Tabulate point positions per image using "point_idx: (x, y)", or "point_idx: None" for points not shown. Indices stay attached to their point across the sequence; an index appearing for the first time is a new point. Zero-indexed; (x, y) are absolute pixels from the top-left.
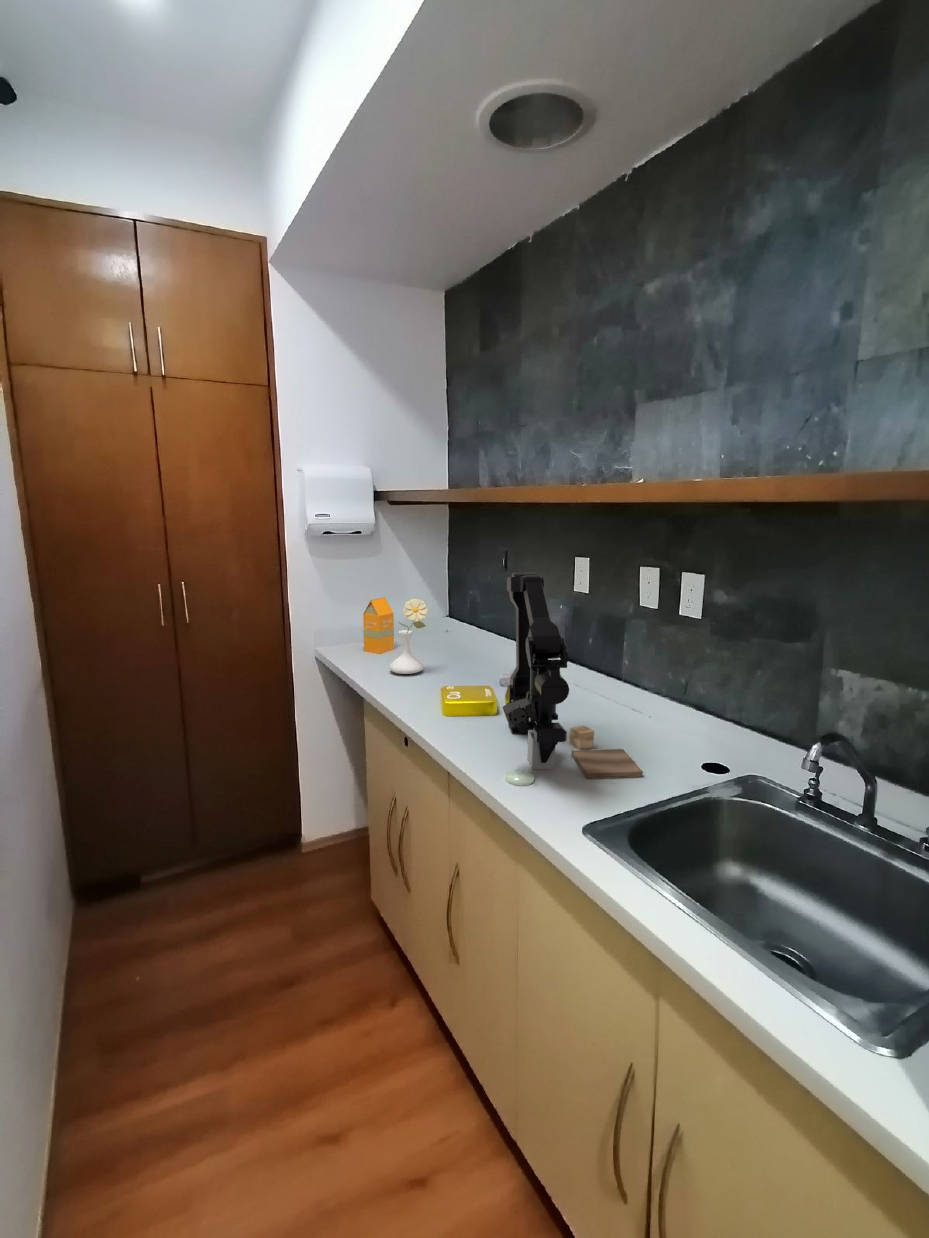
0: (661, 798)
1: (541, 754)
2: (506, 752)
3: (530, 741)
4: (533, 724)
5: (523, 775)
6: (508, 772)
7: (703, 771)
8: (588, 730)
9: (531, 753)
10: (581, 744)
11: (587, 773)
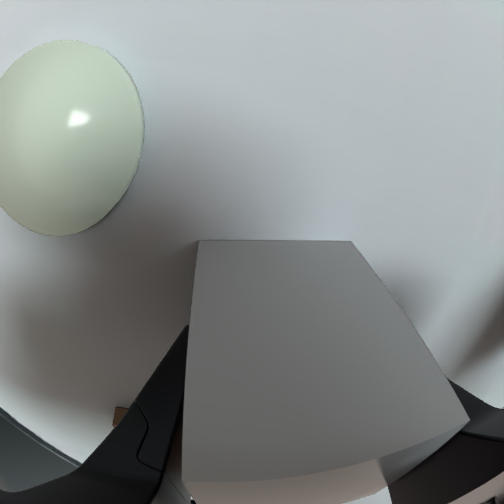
0: (65, 452)
1: (153, 376)
2: (467, 149)
3: (316, 389)
4: (471, 473)
5: (54, 168)
6: (104, 59)
7: (192, 498)
8: None
9: (230, 310)
10: None
11: (112, 424)
